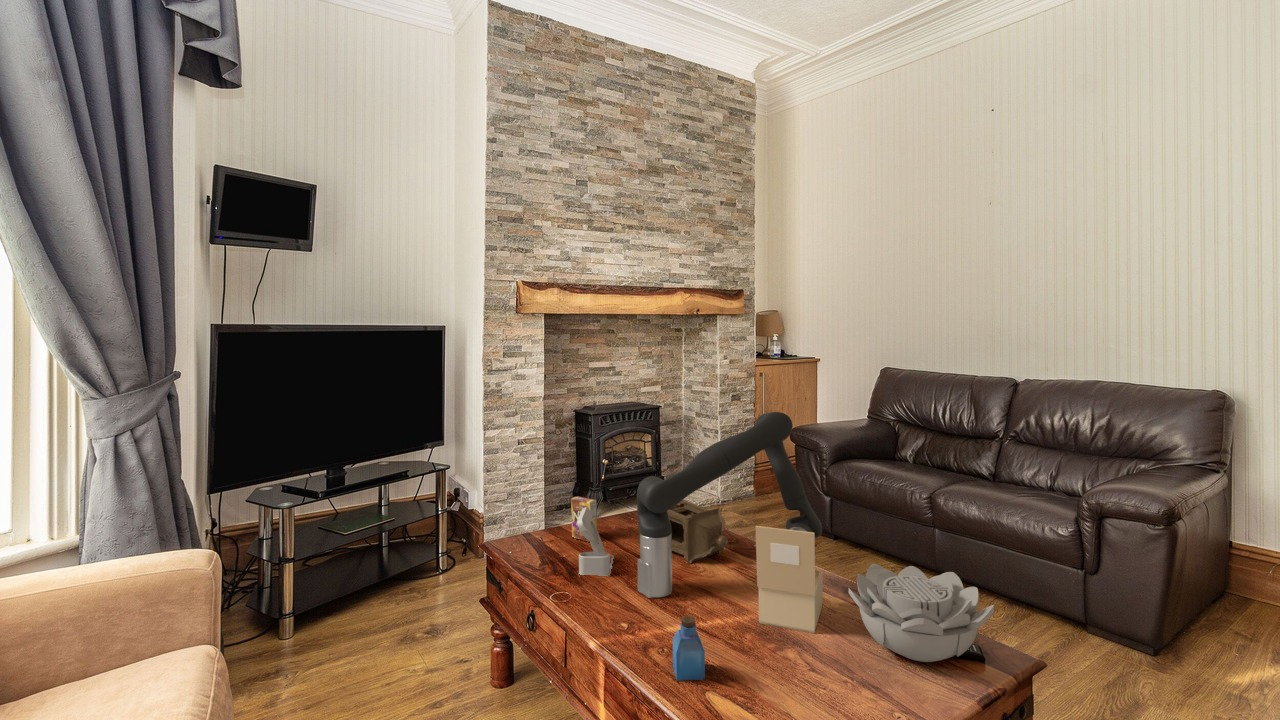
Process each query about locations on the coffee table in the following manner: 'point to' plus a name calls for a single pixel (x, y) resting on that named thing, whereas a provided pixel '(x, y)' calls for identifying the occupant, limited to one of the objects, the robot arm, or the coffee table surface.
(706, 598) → the coffee table surface
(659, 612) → the coffee table surface
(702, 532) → the brown lantern
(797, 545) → the lid flap
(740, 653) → the coffee table surface
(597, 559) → the phone holder
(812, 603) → the cardboard carton
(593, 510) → the candy box
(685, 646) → the perfume bottle
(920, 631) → the decorative bowl
